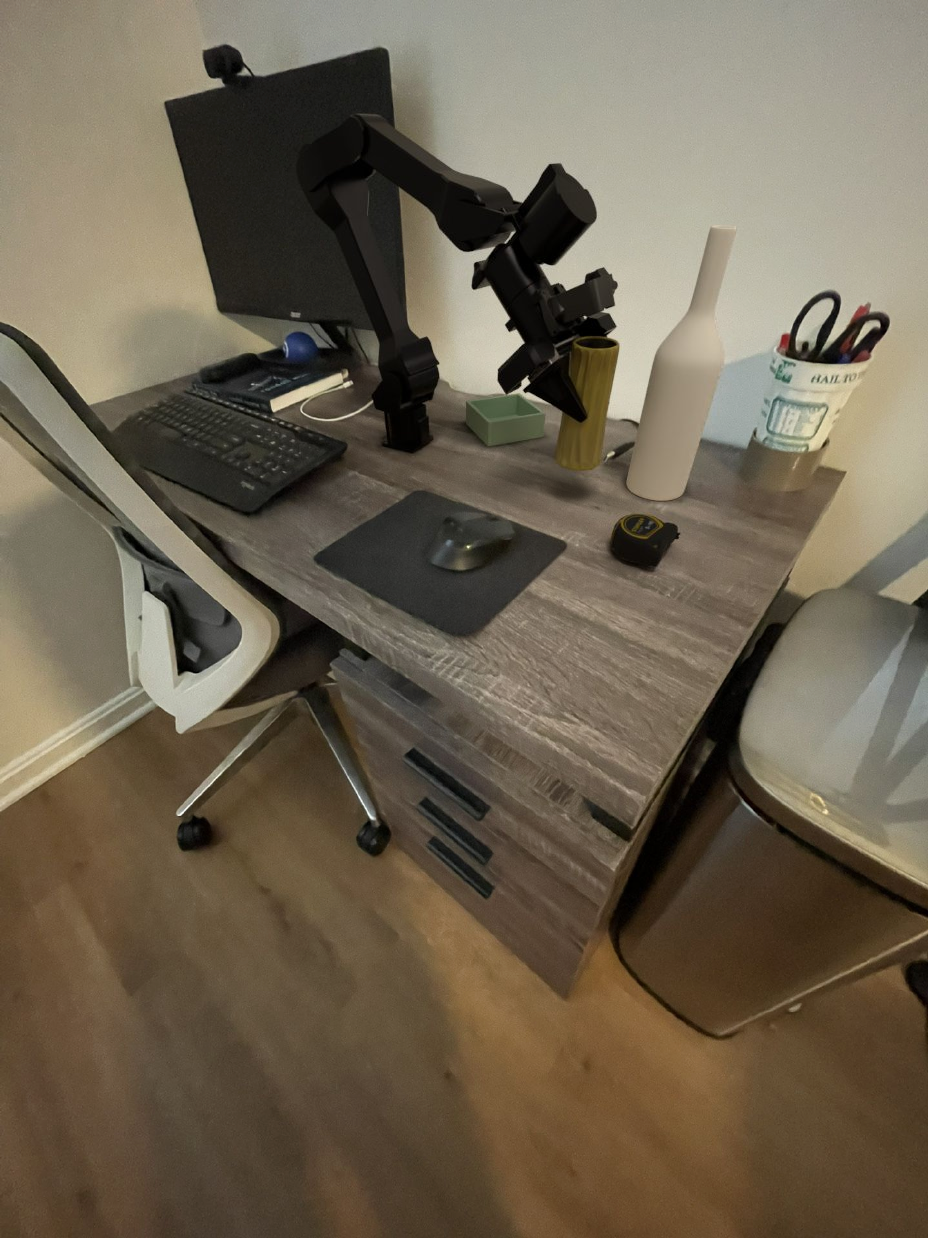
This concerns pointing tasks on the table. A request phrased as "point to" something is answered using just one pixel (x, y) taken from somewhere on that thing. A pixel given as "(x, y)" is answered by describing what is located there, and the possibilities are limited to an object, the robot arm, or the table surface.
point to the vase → (588, 402)
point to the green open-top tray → (505, 419)
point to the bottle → (682, 384)
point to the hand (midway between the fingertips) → (595, 413)
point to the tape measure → (643, 538)
